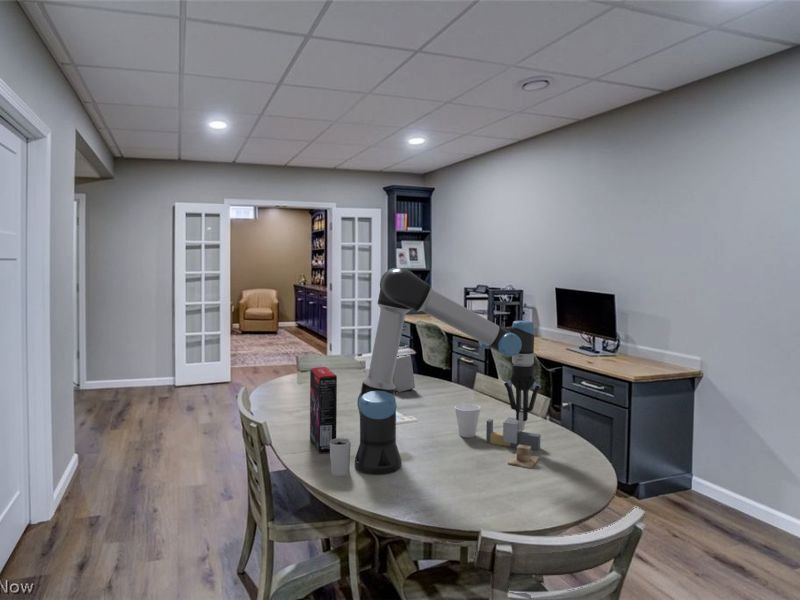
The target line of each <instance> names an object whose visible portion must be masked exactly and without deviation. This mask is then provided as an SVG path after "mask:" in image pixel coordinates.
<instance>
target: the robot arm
mask: <svg viewBox="0 0 800 600" xmlns="http://www.w3.org/2000/svg"><path fill="white" fill-rule="evenodd" d="M377 306H378V307H379V309H380V311H379V318H378V322H377V328H376V332H375V333H376V334H375V338H374V344H373V349H372V354H371V360H370V365H369V370H368V374H367V375H368V376H367V377H366V378H365V379H363V380H362V384H361V388H360V393H359V395H358V397H357V401H356V402H357V403H356V404H357V410H358V414H359V444H358V448H357V451H356V454H355V457H354V469H355V470H356V471H358V472H359V473H361V474H367V475H374V476H375V475H376V476H377V475H378V476H379V475H388V474H393V473H395V472H397V471H399V470H400V469H401V468H402V457H401V454H400V452H399V448H398V446H397V412H396V411H397V401H396V397H395V394H396V393H395V392H396V390H395V388H396V387H395V385H394V384H393V382H392V380H393V375H394V370H395V365H396V360H397V354H398V351H399V348H400V344H401V343H400V342H401V339H402V334H403V328H404V323H405V317H406V314H407V313H409V312H410V311H411V310H413V311H415V312H417V313H419V312H423V313H425V314H427V315H429V316H431V317H433V318H434V319H436V320H438V321H440V322H442V323H444V324H445V325H448V326H450V327H452V328H454V329H455V330H456V331H457V330H458V331H459V332H461V333H463V334H465V335H467V336H469V337H470V338H472V339H474V340H475V341H478V344H479V347H480V348H481V349H487V350H490V349H491V350H492V349H493V350H495V351H496V352H498V353H500V354H501V355H503V356H505V357H511V358H512V359H511V363H512V365H511V377H510V379H509V380H508V381H505V382H504V384H503V385H504V387H505V389H506V391H507V396H508V400H509V405H510V408H511V410H514V411H515V415H516V416H515V418H516V420H519V430H521V431H522V432H524V430H525V429H526V427H525V426H526V422H527V421H528V419H529V418H528V417H529V413H530V412H532V411H533V409H534V408H535V403H536V400H537V396H538V392H539V390H540V389H541V387H542V385H541V384H538V383H537V382H536V381H535V377H534V369H535V368H534V365H533V364H534V363H535V355H534V354H535V353H534V352H535V325H534V324H535V323H534V322H532V321H530V320H514V321H513V322H512V325H511V326H499V325H498V324H497V323H494V322H492V321H490V320H489V319H487V318H485V317H483V316H481V315H480V314H478V313H476V312H474V311H473V310H470V309H469V308H467V307H465V306H463V305H461V304H459V303H457V302H456V301H454V300H452V299H451V298H449V297H446V296H445V295H443V294H441V293H439V292H438V291H435V290H434V289H433V286H432V285H430V284H429V283H427V282H426V281H424V280H423V279H421V278H420V277H418V276H417V275H416V274H414V273H413V272H412V271H411V270H409V269H406V268H402V267H393V268H390V269H388V270H387V271H385V272H384V273H383V275H382V276H381V278H380V281H379V293H378V300H377ZM512 386H514V388H515V395H514V391H513V387H512ZM531 388H533V391H532V393H531V394H532V395H531V397H530V401H529V393H530V389H531ZM522 394H523V396H522ZM522 397H523V398H522ZM522 399H523V400H522ZM522 401H523V403H522ZM528 412H529V413H528Z"/></svg>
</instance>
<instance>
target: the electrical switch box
mask: <svg viewBox="0 0 800 600" xmlns="http://www.w3.org/2000/svg"><path fill="white" fill-rule="evenodd" d="M392 382H393V384H394V385H395V387H396V388H395V392H398V393H401V392H405V391H409V390H413V389H416V383H415V376H414V370H413V361H412V355H411V354H410V355H407V356H399V357H397V360H396V365H395V370H394V375H393V380H392Z"/></svg>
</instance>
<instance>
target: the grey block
mask: <svg viewBox="0 0 800 600" xmlns="http://www.w3.org/2000/svg"><path fill="white" fill-rule="evenodd" d="M502 431H503V432H502V433H503V442H508V443H515V444H517V443H518V434H519V433H520V432H523V431H521V430H519V420H516V417H508V418H506V420H504V421H503V424H502Z"/></svg>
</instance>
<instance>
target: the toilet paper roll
mask: <svg viewBox="0 0 800 600" xmlns="http://www.w3.org/2000/svg"><path fill="white" fill-rule="evenodd" d="M351 445H352V441H351V439H349V438H345V437H338V438H337V437H336V439H332V440H330V452H329V457H330V473H331V475H332V476H337V477H343V476H347V475H349V474H350V468H351V467H350V466H351Z"/></svg>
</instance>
